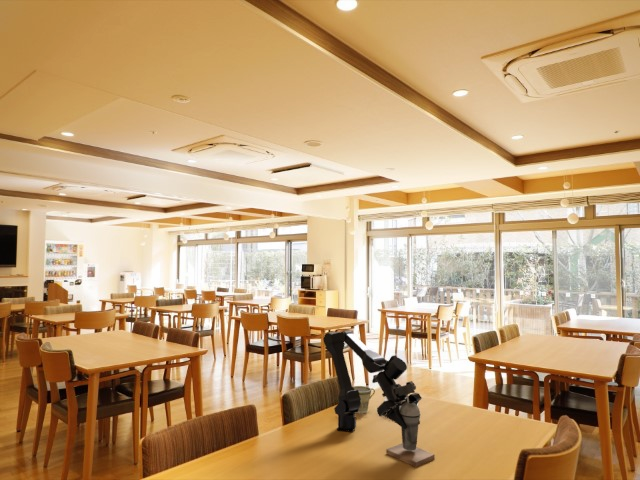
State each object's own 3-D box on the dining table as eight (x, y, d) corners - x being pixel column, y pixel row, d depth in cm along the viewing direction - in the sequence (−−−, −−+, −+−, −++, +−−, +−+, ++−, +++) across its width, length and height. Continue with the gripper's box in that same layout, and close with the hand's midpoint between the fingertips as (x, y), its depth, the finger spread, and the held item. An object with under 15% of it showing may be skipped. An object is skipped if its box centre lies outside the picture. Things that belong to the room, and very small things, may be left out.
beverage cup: (423, 451, 146) (424, 391, 148) (403, 452, 145) (403, 392, 146) (415, 442, 154) (415, 386, 155) (395, 443, 152) (396, 386, 154)
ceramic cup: (356, 416, 189) (356, 393, 190) (345, 409, 198) (345, 387, 199) (380, 411, 195) (381, 389, 196) (368, 405, 204) (368, 384, 205)
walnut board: (386, 453, 151) (386, 449, 151) (404, 446, 157) (404, 442, 157) (416, 467, 141) (416, 462, 141) (434, 458, 147) (434, 454, 147)
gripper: (383, 378, 148) (408, 420, 139) (417, 370, 160) (442, 408, 151) (366, 395, 154) (389, 437, 145) (401, 387, 165) (424, 425, 156)
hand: (412, 426), depth 149 cm, fingers closed on beverage cup, 7 cm apart
